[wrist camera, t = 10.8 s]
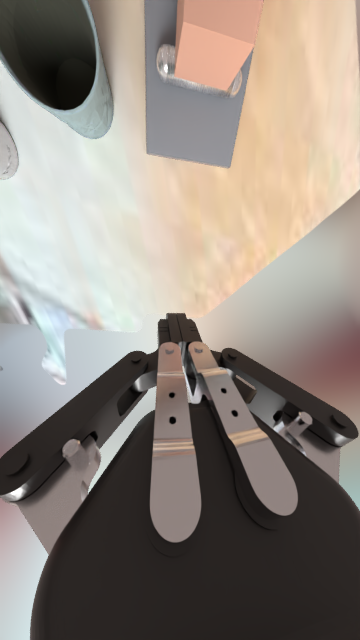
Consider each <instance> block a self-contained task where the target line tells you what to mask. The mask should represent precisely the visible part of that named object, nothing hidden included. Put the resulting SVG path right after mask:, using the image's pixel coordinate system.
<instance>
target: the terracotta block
mask: <svg viewBox="0 0 360 640" xmlns="http://www.w3.org/2000/svg"><path fill="white" fill-rule="evenodd" d="M263 2H264V0H178V2H177V24H176V47H175V69H174V77H177V78H181V79H185V80H188V81H192V82H196V83H200V84H204V85H207V86H211V87H215V88H219V89H222V90H226V91H227V89H228V88H229V86H230V85H231V83H232V81H233V80H234V78H235V77H236V75H237V73H238V72H239V70H240V68H241V67H242V65H243V64H244V62H245V60H246V59H247V57H248V55H249V54H250V52H251V51H252V49H253V47H254V46H255V42H256V37H257V32H258V27H259V22H260V17H261V12H262V7H263Z"/></svg>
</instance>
